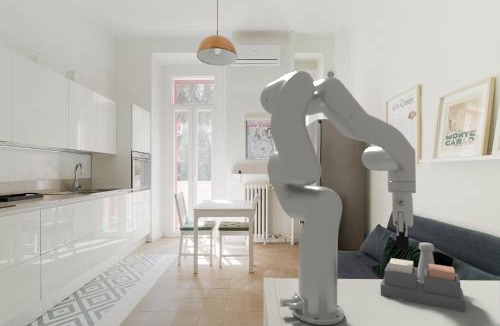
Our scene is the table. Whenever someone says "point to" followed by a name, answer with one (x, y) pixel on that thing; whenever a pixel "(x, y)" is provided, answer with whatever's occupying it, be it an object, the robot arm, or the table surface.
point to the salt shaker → (425, 258)
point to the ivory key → (401, 266)
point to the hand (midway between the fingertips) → (402, 248)
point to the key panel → (423, 289)
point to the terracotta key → (441, 272)
